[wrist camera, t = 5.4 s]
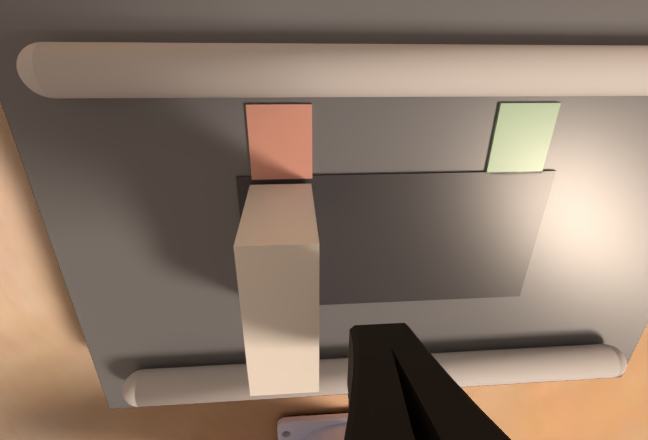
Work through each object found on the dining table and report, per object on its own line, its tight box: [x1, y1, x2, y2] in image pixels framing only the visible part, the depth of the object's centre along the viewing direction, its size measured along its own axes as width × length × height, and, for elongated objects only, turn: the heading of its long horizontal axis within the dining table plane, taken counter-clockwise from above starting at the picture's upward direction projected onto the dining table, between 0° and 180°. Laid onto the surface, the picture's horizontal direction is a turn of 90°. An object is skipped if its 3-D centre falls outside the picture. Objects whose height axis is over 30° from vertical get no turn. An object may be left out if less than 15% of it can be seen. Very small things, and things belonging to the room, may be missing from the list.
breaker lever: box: [233, 184, 319, 396], centre depth 12 cm, size 5×2×4 cm, turn 0°
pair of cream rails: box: [16, 42, 648, 407], centre depth 14 cm, size 13×21×1 cm, turn 90°
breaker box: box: [0, 0, 648, 409], centre depth 15 cm, size 16×24×3 cm, turn 90°
